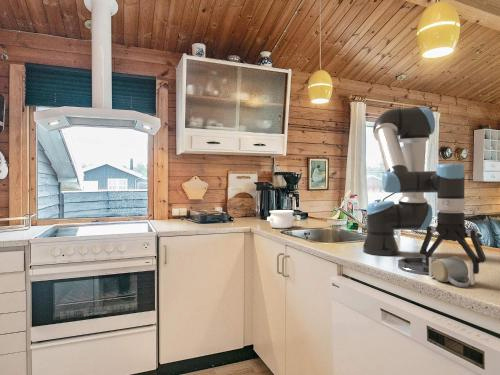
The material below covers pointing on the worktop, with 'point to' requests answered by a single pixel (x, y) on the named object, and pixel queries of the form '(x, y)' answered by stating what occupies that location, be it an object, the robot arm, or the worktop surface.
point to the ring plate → (414, 265)
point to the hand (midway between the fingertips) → (451, 279)
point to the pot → (281, 218)
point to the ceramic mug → (451, 271)
